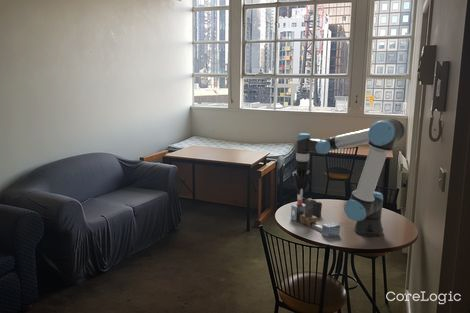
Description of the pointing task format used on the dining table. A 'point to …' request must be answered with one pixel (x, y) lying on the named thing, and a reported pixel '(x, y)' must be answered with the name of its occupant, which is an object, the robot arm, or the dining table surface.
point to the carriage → (308, 213)
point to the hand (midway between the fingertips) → (299, 199)
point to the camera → (315, 207)
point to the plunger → (299, 202)
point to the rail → (326, 229)
